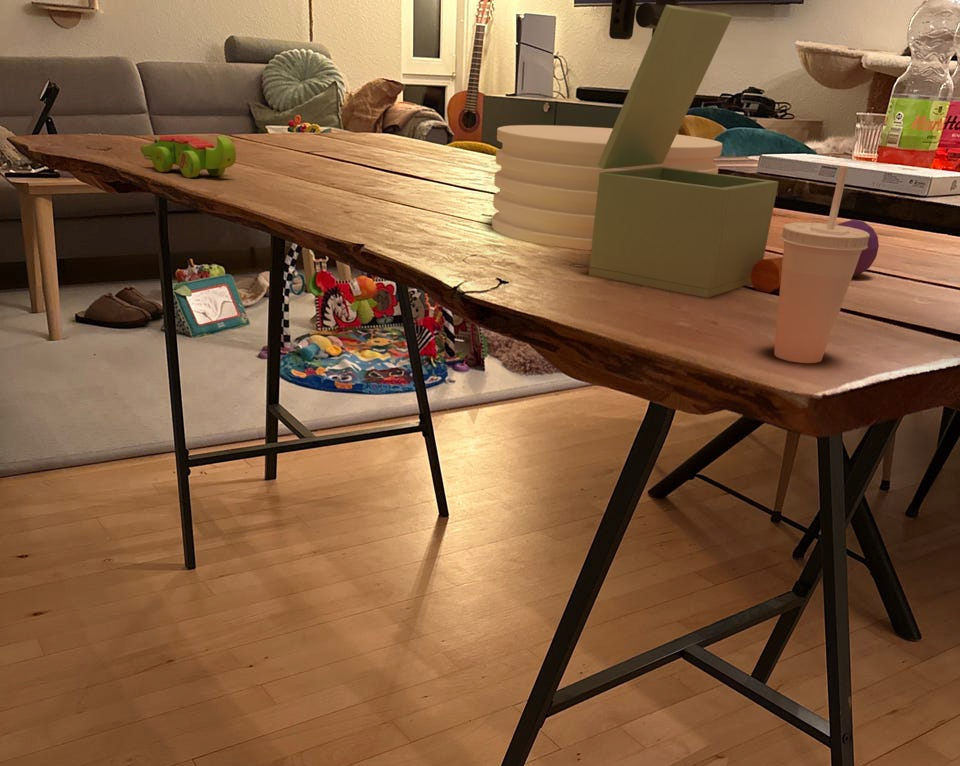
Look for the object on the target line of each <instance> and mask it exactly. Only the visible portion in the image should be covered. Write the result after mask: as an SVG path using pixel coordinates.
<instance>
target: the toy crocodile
mask: <svg viewBox="0 0 960 766" xmlns="http://www.w3.org/2000/svg"><path fill="white" fill-rule="evenodd" d="M153 141H154V142H152V143H150V144H148V145H146V144H145V145H144V144H143V145H141V147H140V151H141V154H142V155H143V158H144V159H145V160H146V161H147V160H148V161H151V162H152V165H153V167H154V168H155V170H156V171H158V172H160V173H166V172H167V173H169V172H170V171H171V170H173V166H174V165H176V166H178V167H179V171H180V172H181V174H182V175H183V176H184V177H185V178H187V179H193V178H197V177H198V176H199V175H200V173H201V171H207V173H208V174H209V175H210V176H212V177H221V176H223V175H224V174H225V172H226V168H231V167H232V166H234V164H235V162H236V160H237V153H236V152H237V151H236V147H235V145H234V142H233V141H232V140H231V139H230V138H229V137H227V136H226V135H221V136H220V135H219V136H216V143H217V144H216V146H214V145H213V144H212V143H210V142H208V141H207V140H201V139H200V138H199V137H194V136H180V135H177V136H176V135H161V136H160V137H156V138H154V139H153Z"/></svg>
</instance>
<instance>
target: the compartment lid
mask: <svg viewBox="0 0 960 766" xmlns="http://www.w3.org/2000/svg"><path fill="white" fill-rule="evenodd" d="M732 18H733V16H732V15H730V14H729V13H725V12H721V11H720V12H719V11H714V10H713V11H711V10H706V9H700V8H692V7H685V6H680V5H678V6H673V5H660V4H656V3H653V2H652V3H651V2H643V3H641V4H640V5H639V6H638V7H637V9H636V10H635V21H636V22H635V23H636V24H637V25H638V27H640V28H642V29H643V28H644V29H652V30H653V29H655V32H654V34H653V36H652V35H651V39H650V41H649V43H648V46H647V48H646V50H645V53H644V55H643V57H642V60H641V62H640V64H639V67H638V69H637V71H636V74H635V76H634V79H633V81H632V83H631V85H630V87H629V90H628V93H627V95H626V97H625V99H624V102H623V104H622V107H621V108H620V112H619V114H618V115H617V118H616V121H615V123H614V124H613V128H612V129H613V130H612V132H611V134H610V137H609V139H608V141H607V144H606V146H605V148H604V151H603V153H602V155H601V158H600V160H599V162H598V165H597V166H599V167H600V168H602V169H611V168H621V167H632V166H642V165H653V164H663V162H664V160H665V158H666V156H667V154H668V152H669V149H670V147H671V145H672V143H673V141H674V139H675V137H676V135H678V132H679V130H680V128H681V126H682V124H683V122H684V120H685V118H686V116H687V113H688V111H689V110H690V108H691V105H692V103H693V101H694V99H695V97H696V95H697V93H698V90H699V88H700V86H701V85H702V82H703V80H704V78H705V75H706V73H707V71H708V69H709V67H710V65H711V63H712V60H713V59H714V56H715V54H716V52H717V50H718V48H719V46H720V44H721V42H722V40H723V37H724V36H725V33H726V32H727V29H728V27H729V25H730V23H731V21H732Z"/></svg>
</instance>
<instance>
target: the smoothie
mask: <svg viewBox="0 0 960 766" xmlns="http://www.w3.org/2000/svg"><path fill="white" fill-rule="evenodd" d="M848 170H849V166H847V165H840V167H839V172H838V176H837V180H836V185H835V189H834V194H833V198H832V203H831V206H830V212H829V216H828V221H827V223H820V222H791V223H786V224H785V225H783V227H782V235H781V236H780V240H781V241H782V242H783V252H782V253H783V254H782V257H783V260H782V272H781V284H780V287H779V297H778V307H777V317H776V318H777V319H776V331H775V340H774V351H773V355H774V356H775V357H776V358H778V359H781V360H784V361H788V362H793V363H800V364H816V363H819V362H821V361H822V360H823V357H824V354H825V352H826V349H827V347H828V344H829V341H830V339H831V336H832V332H833V330H834V327H835V325H836V322H837V319H838V317H839V314H840V311H841V309H842V306H843V303H844V301H845V297H846V295H847V293H848V290H849V287H850V284H851V282H852V279H853V277H854V276H853V274H854V271H855V268H856V266H857V263H858V260H859V257H860V254H861V252H862V250H864V249H866V248H868V246H867V244H868V240H869V236H870V235H869V233H867V232H866V231H863V230H860V229H856V228H851V227H845V226H839V225H838V224H836V223H837V218H838V215H839V210H840V205H841V201H842V197H843V192H844V187H845V183H846V179H847V176H848ZM852 276H853V277H852Z"/></svg>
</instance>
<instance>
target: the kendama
mask: <svg viewBox="0 0 960 766" xmlns="http://www.w3.org/2000/svg"><path fill="white" fill-rule="evenodd" d="M837 225H839V226H845V227H851V228H856V229H860V230H863V231H866V232H867V233H869V235H870V236H869V240H868V244H867V246H868V248H866V249H864V250H862V252H861V254H860V257H859V260H858V263H857V266H856V268H855V271H854V274H853V276H852V278H853V277H855V276H859V275H861V274H863V273H865V272H866V271H867V270H868V269H870V268H871V266H872V264H873V263H874V262H875V260H876V258H877V255H878V251H879V247H880V244H879V243H880V242H879V237H878V235H877V232H876V231H875V228H873V227H872V226H870V225H869V224H868V223H866V222H865V221H864V220H858V219H851V220H847V221H843V222H840V223H838V224H837ZM782 260H783V256H781V257H773V258H772V257H771V258H764V259H763V260H760V261H758V262H757V263H756V264H755V265H754V267H753V269H752V272H751V281H752V284H751V285H752V286H753V288H754V289H755V290H756V291H758V292H762V293H767V294H768V293H772V292H774V291H775V290H777V289H780V284H781V272H782Z"/></svg>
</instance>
